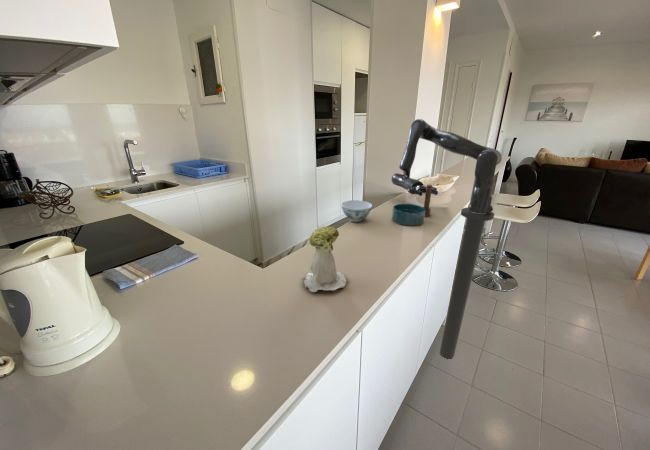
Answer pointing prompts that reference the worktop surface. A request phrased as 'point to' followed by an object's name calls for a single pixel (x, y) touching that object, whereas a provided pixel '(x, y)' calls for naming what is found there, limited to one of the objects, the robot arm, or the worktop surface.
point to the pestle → (427, 200)
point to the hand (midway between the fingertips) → (429, 193)
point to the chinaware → (356, 209)
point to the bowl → (408, 214)
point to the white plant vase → (324, 262)
